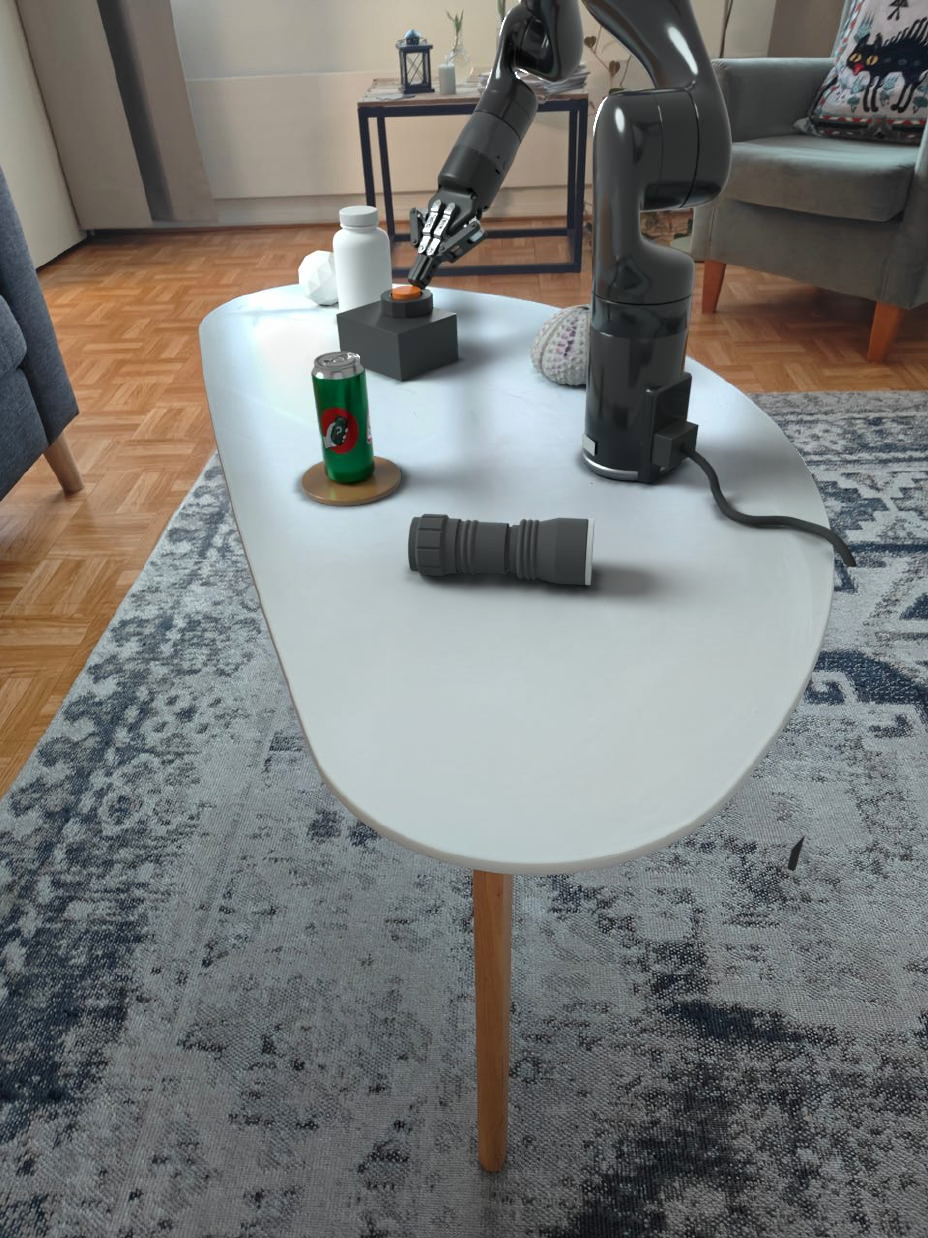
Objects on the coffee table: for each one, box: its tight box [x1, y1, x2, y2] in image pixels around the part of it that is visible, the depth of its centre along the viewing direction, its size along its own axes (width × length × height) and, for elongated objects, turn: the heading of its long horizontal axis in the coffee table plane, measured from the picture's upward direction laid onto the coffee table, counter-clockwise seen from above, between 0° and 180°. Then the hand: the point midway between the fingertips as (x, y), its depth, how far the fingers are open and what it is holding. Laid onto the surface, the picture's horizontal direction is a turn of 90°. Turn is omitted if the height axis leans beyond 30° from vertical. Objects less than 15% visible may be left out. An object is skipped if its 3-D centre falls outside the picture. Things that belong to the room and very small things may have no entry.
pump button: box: [392, 285, 421, 300], centre depth 115 cm, size 4×4×2 cm
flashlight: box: [407, 513, 595, 586], centre depth 75 cm, size 15×5×5 cm, turn 81°
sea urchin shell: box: [529, 303, 591, 386], centre depth 110 cm, size 13×14×8 cm
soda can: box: [310, 351, 375, 484], centre depth 87 cm, size 5×5×12 cm
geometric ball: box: [298, 249, 339, 306], centre depth 137 cm, size 8×8×8 cm
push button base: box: [335, 288, 459, 383], centre depth 116 cm, size 12×10×8 cm
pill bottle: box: [332, 205, 394, 313], centre depth 128 cm, size 8×8×15 cm
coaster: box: [300, 455, 402, 507], centre depth 91 cm, size 10×10×1 cm
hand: (415, 285), depth 115 cm, fingers closed
